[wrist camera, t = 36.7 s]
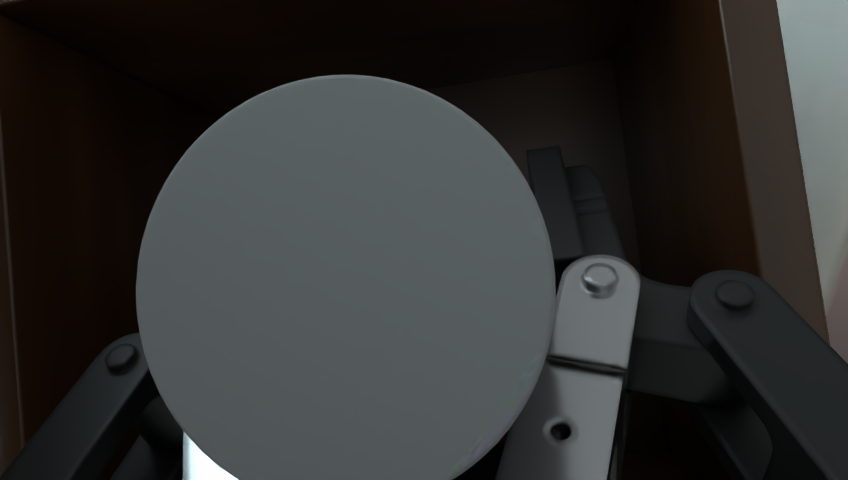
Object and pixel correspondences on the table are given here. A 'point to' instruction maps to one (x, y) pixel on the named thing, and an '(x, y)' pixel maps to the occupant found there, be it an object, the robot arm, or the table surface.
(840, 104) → the table surface
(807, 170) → the table surface
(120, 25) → the chest
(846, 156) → the table surface
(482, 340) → the container
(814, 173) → the table surface
